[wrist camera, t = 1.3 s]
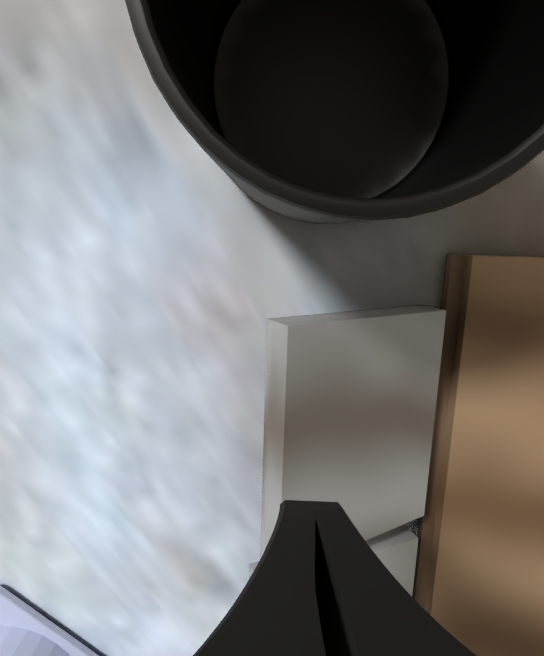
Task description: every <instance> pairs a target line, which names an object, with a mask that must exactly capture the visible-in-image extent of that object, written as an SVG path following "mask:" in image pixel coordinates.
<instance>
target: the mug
mask: <svg viewBox="0 0 544 656" xmlns="http://www.w3.org/2000/svg"><path fill="white" fill-rule="evenodd" d="M125 1H126V5H127V9H128V12H129V16H130V20H131V23H132V27H133V31H134V34H135V37H136V39H137V42H138V45H139V48H140V50H141V53H142V55H143V57H144V60H145V62H146V64H147V67H148V69H149V71H150V74H151V76H152V78H153V80H154V82H155V84H156V85H157V87H158V89H159V90H160V92H161V94H162V95H163V97H164V99H165V100H166V102H167V103H168V105H169V107H170V108H171V110H172V111H173V113H174V114H175V116H176V117H177V118H178V120H179V121H180V123H181V124H182V125H183V126H184V127H185V129H186V130H187V131H188V132H189V133H190V135H191V136H192V137H193V138H194V139H195V141H196V142H197V143H198V144H199V145H200V147H201V148H202V149H203V150H204V151H205V152H206V153H207V154H208V155H209V156H210V157H211V158H212V159H213V160H214V161H215V163H216V164H217V165H218V166H219V167H220V168H221V169H222V170H223V171H224V172H225V173H226V174H227V175H228V176H229V177H230V178H231V179H232V180H233V182H234V183H235V184H236V185H237V186H238V187H239V188H241V189H242V190H243V191H244V192H245V193H246V194H247V195H249V196H250V197H251V198H252V199H254V200H255V201H256V202H258V203H260V204H261V205H263V206H264V207H266V208H267V209H269V210H271V211H273V212H276V213H278V214H280V215H283V216H285V217H288V218H291V219H295V220H299V221H303V222H307V223H319V224H335V223H348V222H360V221H372V220H384V219H397V218H408V217H412V216H416V215H420V214H424V213H429V212H433V211H437V210H440V209H443V208H446V207H449V206H452V205H455V204H457V203H459V202H462V201H464V200H467V199H469V198H472V197H474V196H476V195H479V194H481V193H483V192H485V191H486V190H488V189H490V188H491V187H493V186H495V185H496V184H498V183H500V182H501V181H503V180H505V179H506V178H508V177H510V176H511V175H513V174H514V173H515V172H517V171H518V170H520V169H521V168H523V167H524V166H525V165H526V164H527V163H529V162H530V161H531V160H532V159H534V158H535V157H536V156H537V155H539V154H540V153H541V152H542V151H543V150H544V0H125Z"/></svg>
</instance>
